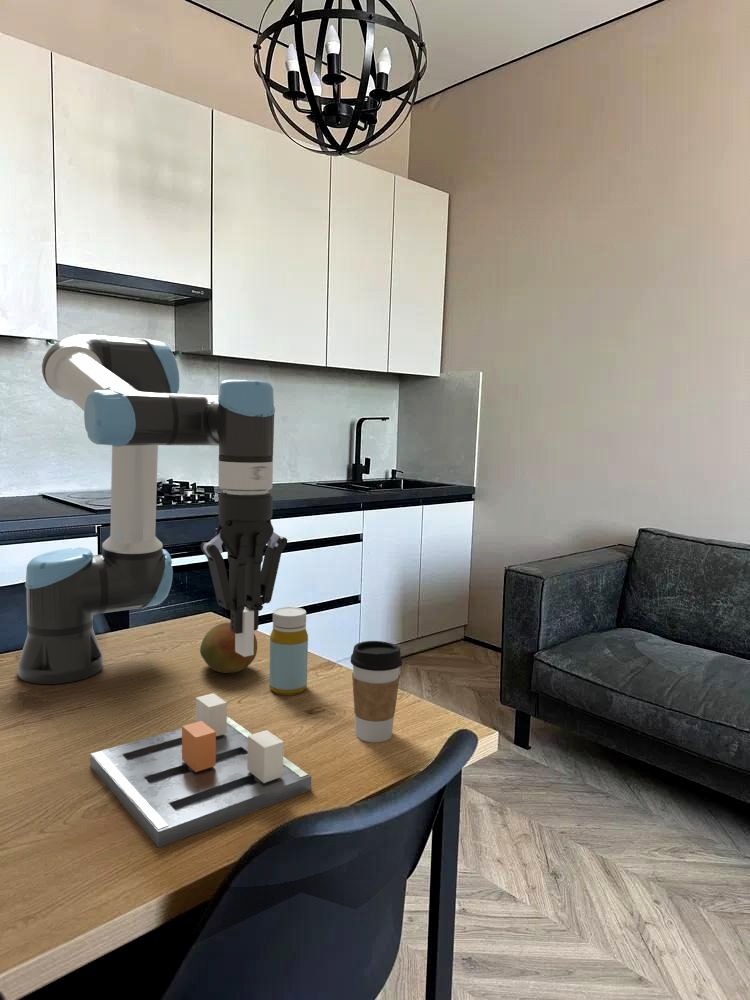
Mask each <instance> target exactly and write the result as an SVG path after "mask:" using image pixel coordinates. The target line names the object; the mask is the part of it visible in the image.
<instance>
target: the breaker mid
mask: <svg viewBox="0 0 750 1000" xmlns="http://www.w3.org/2000/svg"><path fill="white" fill-rule="evenodd" d="M181 728H182V760H183V761H184V762H185V763H186V764H187V765H188V770H190V771H191V772H192V771H195V772H198V771H201V770H204V769H207V768H210V767H213V766H216V732H215V731H214V730H213V729H212V728H210V727H209V726H208V725H206V724H205V723H204V722H203V721H198V722H196V721H195V722H192V723H187V724H185V725H181Z"/></svg>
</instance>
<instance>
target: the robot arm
mask: <svg viewBox="0 0 750 1000" xmlns="http://www.w3.org/2000/svg"><path fill="white" fill-rule="evenodd" d="M41 372H42V374H41V375H42V377H43V379H44V382H45V383H46V385H47V386H48V388H49V389H50V390H51V391H52V392H54V394H55V395H57V396H59V397H61V399H64V400H67V401H72V403H73V402H74V404H75V405H76V406H78V407H79V408H80V409H81V410H82V411H83V412H84V413H83V417H84V418H83V419H84V428H85V431H86V433H87V438H88V439H89V440H90V442H92V443H93V444H96V445H104V446H111V483H110V484H111V487H110V535H109V537H108V538H107V539H105V540H104V541H103V542H102V545H101V554H94V555H93V552H92V551H91V549H89V548H86V547H85V548H84V547H76V548H71V547H70V548H61V549H57V550H52V551H48V552H45V553H42V554H39V555H36V556H35V557H33V558H32V559H31V560H30V561H29V562H28V564H27V565H26V572H25V573H26V574H25V583H24V587H25V589H26V592H25V593H26V618H27V619H26V622H27V624H26V625H27V635H26V639H25V641H24V644H23V648H22V651H21V654H20V658H19V660H18V664H17V670H18V671H17V673H18V674H17V675H18V677H19V679H20V680H22V681H24V682H26V683H31V684H39V685H57V684H58V685H59V684H66V683H72V682H77V681H81V680H84V679H87V678H89V677H92V676H95V675H96V674H98V673H99V672H100V671H101V670H102V669H103V667H104V657H103V652H102V650H101V646H100V645H99V642H98V639H97V636H96V633H95V631H94V627H93V625H94V624H93V623H94V622H93V621H94V615H97V614H99V615H100V614H106V613H113V612H121V611H130V610H137V609H138V610H142V609H146V608H147V607H154V606H158V605H160V604H162V603H163V602H164V601H165V600H166V599H167V597H168V595H169V593H170V590H171V588H172V583H173V574H174V571H173V569H174V568H173V566H172V563H173V562H172V556H171V554H170V553H169V551H168V550H167V549H164V548H163V547H164V546H163V542H162V541H160V539H158V537H157V536H156V526H157V525H156V523H157V522H156V521H157V520H156V519H157V493H158V492H157V488H158V487H157V485H158V482H157V481H158V458H159V456H158V455H159V446H211V447H213V446H215V447H217V446H218V488H219V489H220V490H222V491H221V492H220V493H219V494H218V521H219V524H218V527H217V529H216V532H215V536H214V537H213V538H212V539H211V540H210V541H208V542H205V541H204V542H202V543H200V549H201V551H202V552H203V554H204V555H205V557H206V558H207V564H208V567H209V571H210V575H211V580H212V584H213V588H214V593H215V596H216V602H217V605H218V606H219V607H221V608H224V609H226V610H229V611H230V622H231V623H230V624H231V625H230V628H231V631H232V632H234V633H235V652H237V653H238V654H240V655H242V656H244V657H246V656H251V655H254V634H255V633H254V631H258V628H259V619H260V618H259V617H260V616H259V615H260V614H259V612H260V611H262V610H263V609H264V605H265V604H269V603H271V602H272V597H273V594H274V589H275V583H276V579H277V575H278V570H279V567H280V566H279V565H280V561H281V556H282V553H283V551H284V549H285V547H286V546H287V544H288V539H287V537H284V536H280V535H279V534H277V533H276V532H274V531H275V530H274V527H273V524H272V517H273V510H274V509H273V504H274V503H273V501H274V497H273V494H272V493H271V492H269V491H270V490H271V489H273V486H274V485H273V483H274V482H273V480H274V479H273V474H274V473H273V472H274V466H273V465H274V441H275V440H274V439H275V438H274V436H275V435H274V434H275V412H276V408H275V405H274V403H275V401H274V388H273V385H272V384H271V383H269V382H268V381H264V380H252V379H251V380H249V379H247V380H246V379H225V380H223V381H221V383H220V385H219V389H218V394H197V393H196V394H195V393H179V391H180V372H179V368H178V362H177V360H176V357H175V354H174V353H173V350H172V349H171V347H169V345H168V344H166V343H165V342H162V341H159V340H153V339H148V338H144V337H143V338H135V337H123V336H113V335H112V336H111V335H97V334H91V333H90V334H89V333H87V334H86V333H85V334H77V335H76V334H75V335H71V336H69V337H65V338H63V339H61V340H59V341H57V342H56V343H54V344H53V345H52V346H51V347H50V348H49V349H48V350H47V351H46V353H45V354H44V357H43V359H42V363H41ZM266 546H267V547H266ZM222 547H223V548H224V549H225V551H226V552H227V561H228V568H229V571H228V573H227V570H226V565H225V560H224V558H223V555H222V553H223V548H222ZM265 548H266V549H265ZM264 550H265V552H264Z"/></svg>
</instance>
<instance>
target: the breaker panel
mask: <svg viewBox="0 0 750 1000" xmlns="http://www.w3.org/2000/svg"><path fill="white" fill-rule="evenodd" d="M252 734H253V732H251V731H249V730H248V729H247V728H245V727H244V726H242V725H241V724H239V723H238V722H237V721H235V720H234V719H233V718H231V717H230V716H228V715H227V734H223V735H220V736H216V766H213V767H210V768H207V769H204V770H201V771H198V772H195V771H192V772H191V771H190V770H188V765H187V764H186V763H185V762H184V761H183V760H182V727H181V728H179V729H174V730H172V731H167V732H163V733H160V734H157V735H153V736H148V737H145V738H142V739H138V740H134V741H131V742H127V743H122V744H120V745H117V746H113V747H110V748H105V749H102V750H98V751H94V752H91V753H90V754H89V757H90V761H89V762H90V769H92V771H94V773H95V774H96V775H97V776H98V777H99V779H100V780H101V782H103V783H104V784H105V786H106V787H107V788H108V789H109V790H110V792H111V793H112V794H113V795H114V797H115V798H116V799H117V800H118V802H120V804H121V805H122V806H123V807H124V809H125V810H126V811H127V812H128V813H129V815H130V816H131V817H132V818H133V819H134V821H136V823H137V824H138V825H139V826H140V828H141V829H142V830H143V832H145V833H146V835H147V836H148V837H149V838H150V839H151V841H152V842H153V843H154V844H155V845H156V847H158V848H162V847H165V846H167V845H169V844H170V845H171V844H173V843H175V842H178V841H180V840H183V839H185V838H189V837H191V836H193V835H196V834H199V833H201V832H204V831H207V830H209V829H211V828H214V827H217V826H219V825H222V824H225V823H227V822H230V821H233V820H235V819H238V818H241V817H242V816H246V815H249V814H250V813H254V812H256V811H258V810H261V809H264V808H267V807H269V806H272V805H275V804H277V803H280V802H282V801H285V800H287V799H290V798H294V797H295V796H298V795H301V794H303V793H307V792H309V791H311V790H312V775H310V774H309V773H308V772H306V771H305V770H304V769H303V768H301V767H300V766H298V765H297V764H295V763H294V762H292V761H291V760H290V759H288V758H287V757H285V756H284V755H283V777H280V778H277V779H274V780H271V781H268V782H266V783H263V782H259V783H258V782H256V781H255V780H254V775H253V774H252V773H251V772H249V771H248V770H247V763H248V735H252Z"/></svg>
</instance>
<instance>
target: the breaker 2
mask: <svg viewBox="0 0 750 1000" xmlns="http://www.w3.org/2000/svg"><path fill="white" fill-rule="evenodd" d="M284 743H285V742H284V741H283V740H282V739H280V738H279V737H278V736H276V735H274V734H273V733H271V732H270V731H269V730H267V729H266V730H263V731H259V732H256V733H252V735H248V763H247V770H248V771H249V772H251V773H252V774H253V775H254V780H255V781H256V782H258V783H259V782H263V783H266V782H268V781H271V780H274V779H277V778H280V777H283V756H284Z"/></svg>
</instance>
